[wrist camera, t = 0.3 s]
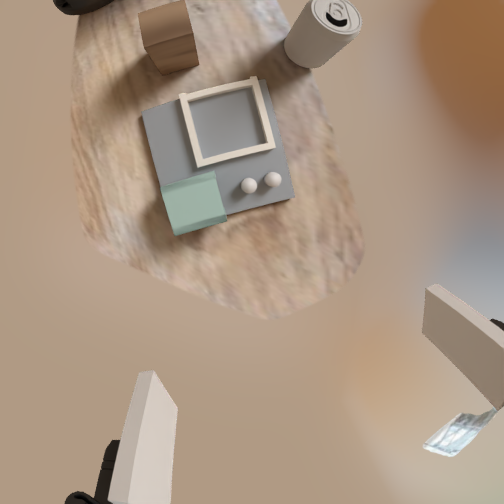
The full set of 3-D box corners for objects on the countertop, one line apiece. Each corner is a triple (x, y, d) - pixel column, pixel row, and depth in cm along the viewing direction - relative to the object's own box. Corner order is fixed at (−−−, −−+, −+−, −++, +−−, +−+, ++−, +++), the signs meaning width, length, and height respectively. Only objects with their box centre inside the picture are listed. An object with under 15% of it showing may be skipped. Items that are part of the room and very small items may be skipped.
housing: (167, 184, 33) (159, 187, 28) (214, 170, 33) (213, 171, 29) (180, 226, 35) (174, 236, 30) (226, 213, 35) (227, 221, 30)
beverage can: (279, 63, 31) (304, 25, 19) (285, 27, 29) (310, -16, 18) (324, 75, 32) (364, 45, 20) (329, 39, 30) (366, 3, 19)
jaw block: (155, 46, 28) (137, 13, 19) (191, 35, 28) (184, -1, 19) (162, 75, 30) (143, 47, 20) (199, 64, 30) (193, 32, 20)
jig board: (143, 111, 31) (136, 106, 28) (263, 79, 31) (267, 72, 28) (175, 228, 36) (171, 233, 33) (292, 196, 37) (299, 199, 33)
